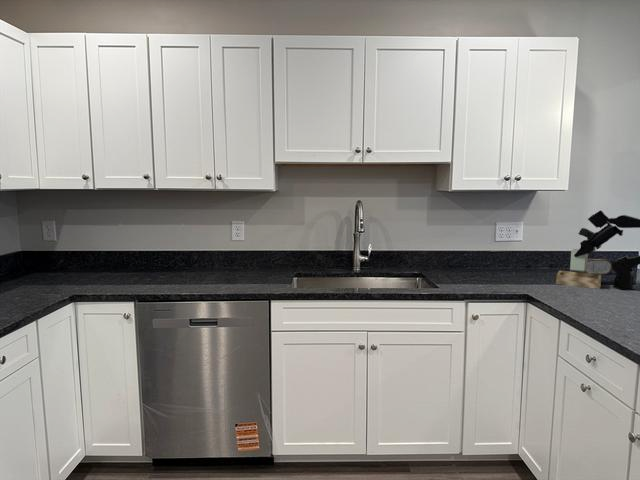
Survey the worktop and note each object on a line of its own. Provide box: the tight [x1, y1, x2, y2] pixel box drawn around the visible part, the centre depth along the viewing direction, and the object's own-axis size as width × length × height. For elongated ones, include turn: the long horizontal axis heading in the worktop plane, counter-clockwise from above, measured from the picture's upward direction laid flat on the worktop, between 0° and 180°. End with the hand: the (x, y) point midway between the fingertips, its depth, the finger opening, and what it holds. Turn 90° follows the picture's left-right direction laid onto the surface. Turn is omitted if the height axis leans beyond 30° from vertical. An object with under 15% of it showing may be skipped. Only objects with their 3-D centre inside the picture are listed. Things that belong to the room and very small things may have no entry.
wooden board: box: [555, 270, 602, 290], centre depth 203 cm, size 18×14×4 cm
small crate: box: [569, 248, 589, 273], centre depth 205 cm, size 6×6×10 cm
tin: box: [583, 258, 613, 275], centre depth 228 cm, size 15×3×8 cm, turn 84°
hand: (576, 255), depth 206 cm, fingers closed on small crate, 6 cm apart
